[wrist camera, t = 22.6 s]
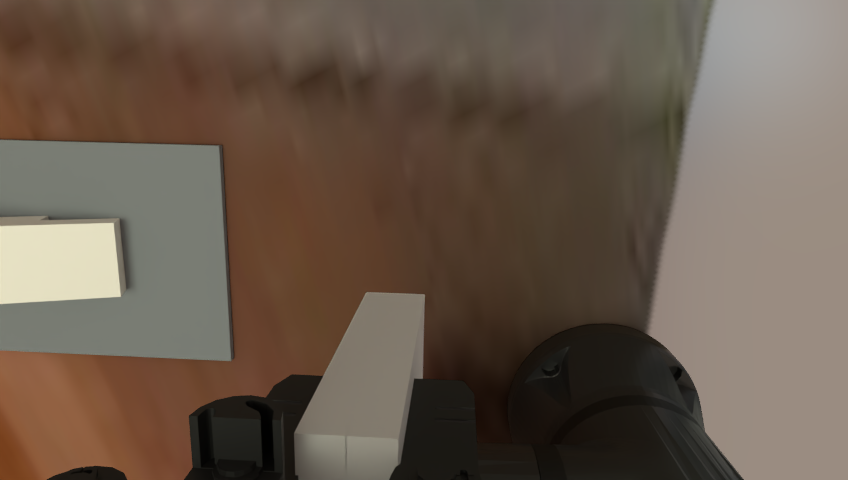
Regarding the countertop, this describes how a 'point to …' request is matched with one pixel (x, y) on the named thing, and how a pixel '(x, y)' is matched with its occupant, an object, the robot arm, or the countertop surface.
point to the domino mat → (128, 247)
